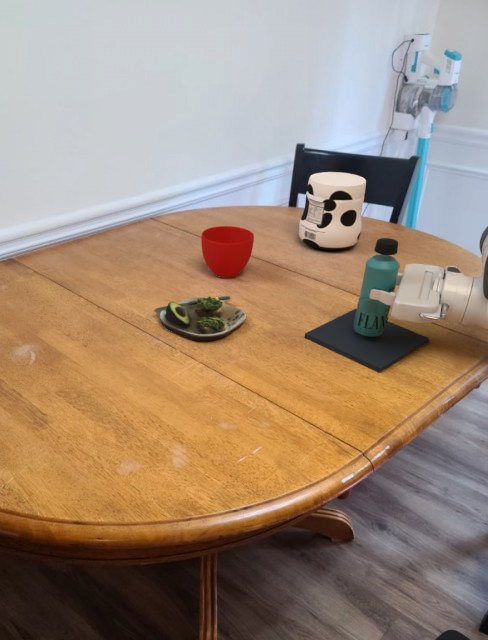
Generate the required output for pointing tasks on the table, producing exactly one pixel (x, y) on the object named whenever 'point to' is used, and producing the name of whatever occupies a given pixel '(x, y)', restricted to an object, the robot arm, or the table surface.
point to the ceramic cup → (227, 249)
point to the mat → (367, 342)
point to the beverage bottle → (377, 275)
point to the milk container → (332, 210)
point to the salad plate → (201, 318)
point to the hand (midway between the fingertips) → (373, 284)
